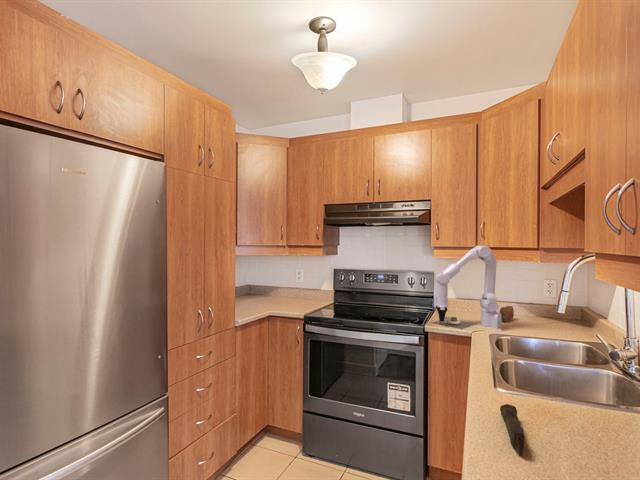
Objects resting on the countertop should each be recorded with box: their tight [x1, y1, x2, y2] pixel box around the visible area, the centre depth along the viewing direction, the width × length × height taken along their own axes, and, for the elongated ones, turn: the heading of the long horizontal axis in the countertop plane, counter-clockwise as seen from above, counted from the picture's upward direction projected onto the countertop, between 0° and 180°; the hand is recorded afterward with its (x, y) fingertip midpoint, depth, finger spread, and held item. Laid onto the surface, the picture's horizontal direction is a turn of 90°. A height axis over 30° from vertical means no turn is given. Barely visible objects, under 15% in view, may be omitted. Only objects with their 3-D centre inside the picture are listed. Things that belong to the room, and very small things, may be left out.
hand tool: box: [499, 403, 525, 456], centre depth 90 cm, size 19×4×5 cm, turn 158°
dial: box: [438, 315, 462, 325], centre depth 202 cm, size 11×7×3 cm, turn 74°
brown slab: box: [498, 305, 515, 323], centre depth 215 cm, size 15×3×8 cm, turn 132°
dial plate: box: [431, 319, 477, 330], centre depth 202 cm, size 18×18×1 cm
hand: (441, 321), depth 199 cm, fingers closed
